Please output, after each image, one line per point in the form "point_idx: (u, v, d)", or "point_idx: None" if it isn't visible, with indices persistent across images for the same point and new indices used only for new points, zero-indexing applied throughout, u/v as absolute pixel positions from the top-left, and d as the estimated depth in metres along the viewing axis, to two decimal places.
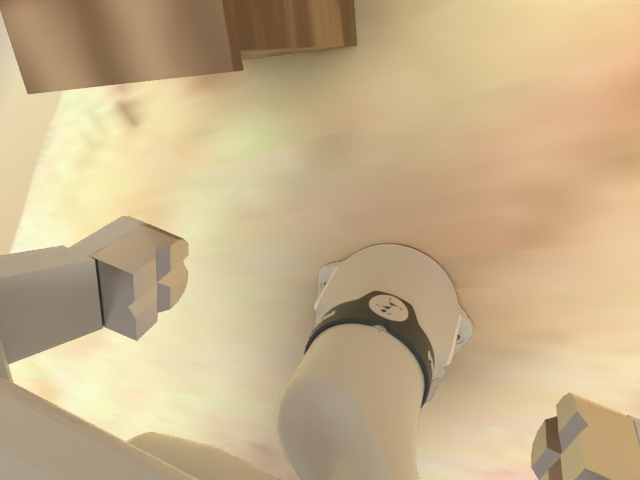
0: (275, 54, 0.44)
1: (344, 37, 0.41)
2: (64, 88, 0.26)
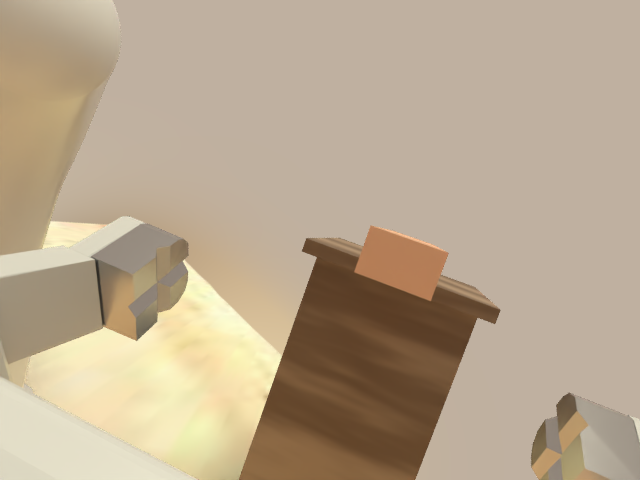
0: None
1: None
2: (334, 238, 0.44)
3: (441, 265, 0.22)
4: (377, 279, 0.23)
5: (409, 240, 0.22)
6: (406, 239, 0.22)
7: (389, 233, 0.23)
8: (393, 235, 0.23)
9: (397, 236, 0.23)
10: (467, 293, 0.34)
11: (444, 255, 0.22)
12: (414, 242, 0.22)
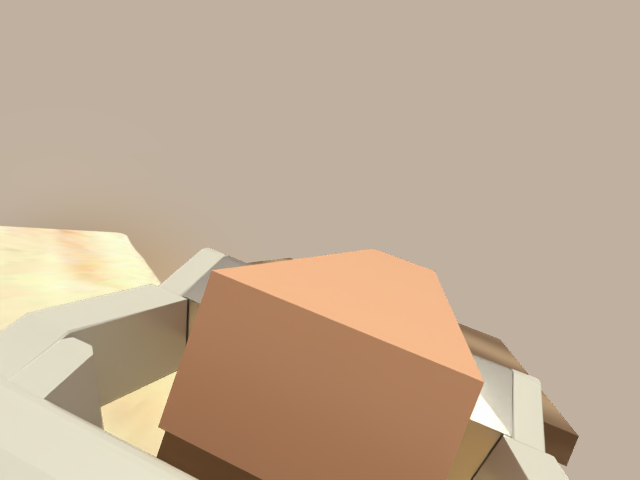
0: None
1: None
2: (277, 260, 0.27)
3: (456, 427, 0.06)
4: (232, 458, 0.07)
5: (340, 327, 0.06)
6: (329, 324, 0.06)
7: (272, 300, 0.06)
8: (286, 307, 0.06)
9: (298, 312, 0.06)
10: None
11: (468, 389, 0.06)
12: (358, 335, 0.06)
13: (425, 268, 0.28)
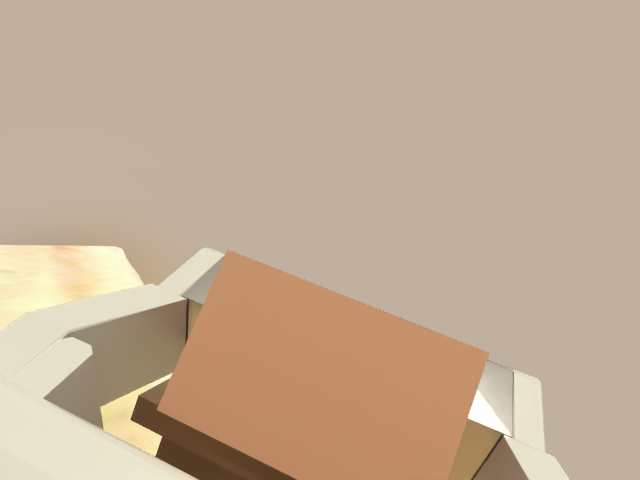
0: None
1: None
2: None
3: (464, 399, 0.06)
4: (234, 441, 0.06)
5: (351, 303, 0.06)
6: (341, 299, 0.06)
7: (285, 277, 0.07)
8: (299, 284, 0.07)
9: (311, 288, 0.07)
10: None
11: (474, 361, 0.06)
12: (368, 310, 0.06)
13: None
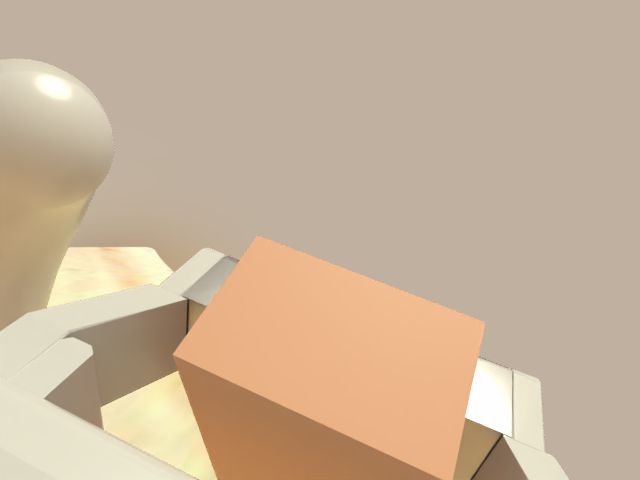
0: None
1: None
2: None
3: (469, 356, 0.07)
4: (252, 386, 0.06)
5: (366, 280, 0.07)
6: (358, 275, 0.07)
7: (309, 257, 0.08)
8: (319, 264, 0.08)
9: (331, 266, 0.08)
10: None
11: (473, 329, 0.07)
12: (381, 286, 0.07)
13: None
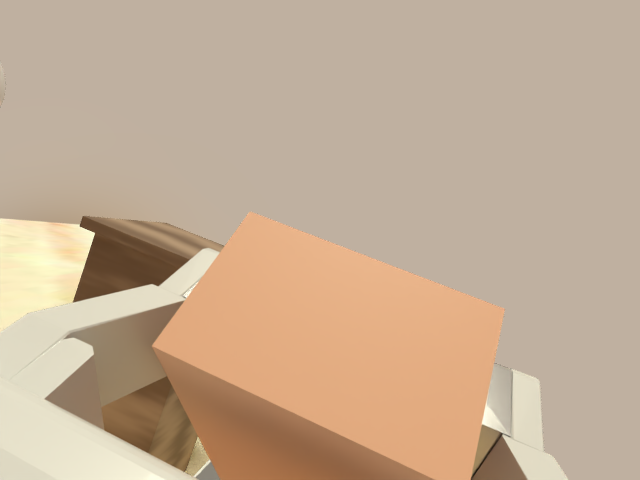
0: None
1: None
2: (152, 222, 0.52)
3: (487, 347, 0.06)
4: (241, 382, 0.05)
5: (371, 261, 0.07)
6: (361, 256, 0.07)
7: (307, 236, 0.07)
8: (319, 244, 0.07)
9: (332, 245, 0.07)
10: None
11: (491, 317, 0.06)
12: (387, 268, 0.07)
13: None
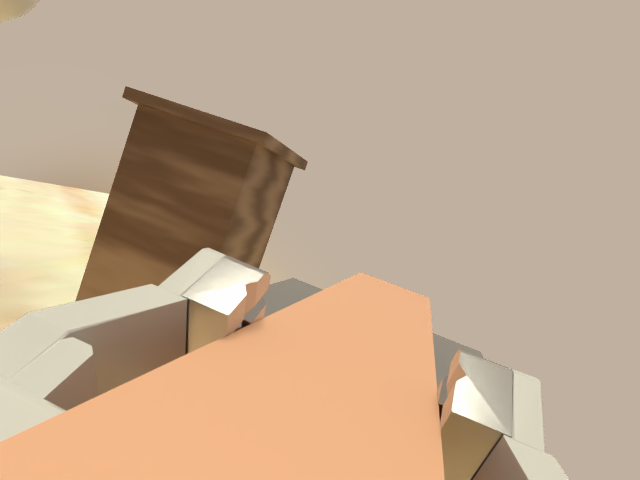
0: None
1: None
2: None
3: None
4: None
5: None
6: None
7: None
8: None
9: None
10: None
11: None
12: None
13: (419, 296, 0.24)
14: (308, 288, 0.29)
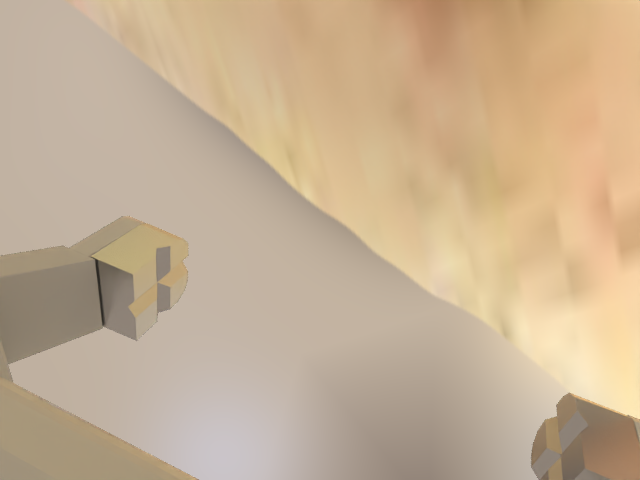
0: None
1: None
2: None
3: None
4: None
5: None
6: None
7: None
8: None
9: None
10: None
11: None
12: None
13: None
14: None
